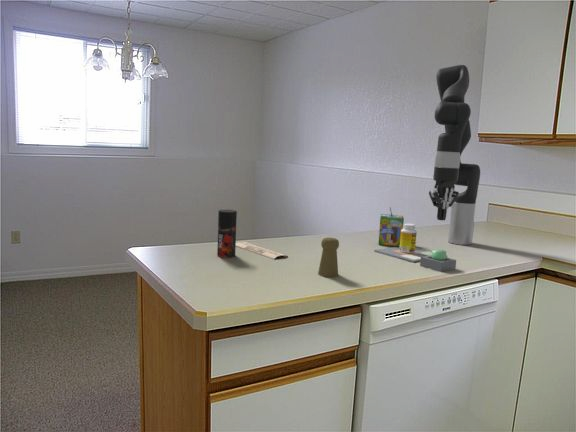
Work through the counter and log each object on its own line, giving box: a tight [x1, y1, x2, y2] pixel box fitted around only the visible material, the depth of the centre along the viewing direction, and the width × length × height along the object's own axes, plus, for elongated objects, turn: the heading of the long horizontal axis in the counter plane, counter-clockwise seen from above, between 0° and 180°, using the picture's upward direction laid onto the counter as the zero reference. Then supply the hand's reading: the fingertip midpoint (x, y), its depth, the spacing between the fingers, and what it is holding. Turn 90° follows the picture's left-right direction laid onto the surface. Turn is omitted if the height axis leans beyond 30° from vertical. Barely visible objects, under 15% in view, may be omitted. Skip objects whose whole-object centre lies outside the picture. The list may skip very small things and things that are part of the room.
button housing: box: [419, 255, 457, 273], centre depth 155 cm, size 8×8×3 cm
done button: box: [431, 249, 447, 261], centre depth 155 cm, size 4×4×4 cm
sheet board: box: [373, 246, 448, 263], centre depth 173 cm, size 19×18×1 cm
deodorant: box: [216, 209, 238, 259], centre depth 156 cm, size 6×6×15 cm
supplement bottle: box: [399, 223, 418, 253], centre depth 172 cm, size 6×6×10 cm
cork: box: [317, 237, 340, 278], centre depth 139 cm, size 6×6×11 cm
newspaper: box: [236, 241, 289, 260], centre depth 165 cm, size 24×7×2 cm, turn 40°
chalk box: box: [378, 207, 405, 247], centre depth 189 cm, size 9×9×15 cm
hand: (441, 220), depth 153 cm, fingers closed
